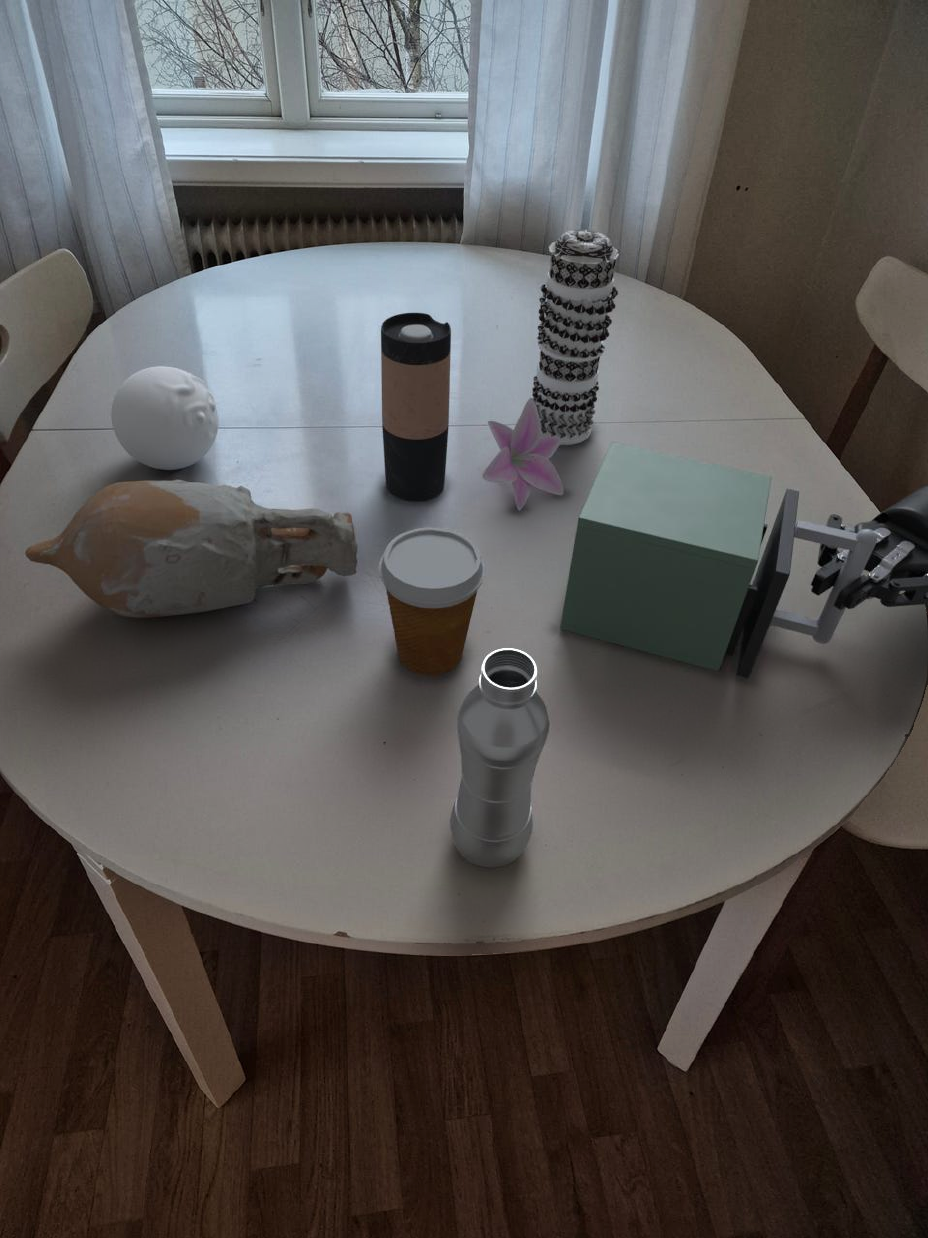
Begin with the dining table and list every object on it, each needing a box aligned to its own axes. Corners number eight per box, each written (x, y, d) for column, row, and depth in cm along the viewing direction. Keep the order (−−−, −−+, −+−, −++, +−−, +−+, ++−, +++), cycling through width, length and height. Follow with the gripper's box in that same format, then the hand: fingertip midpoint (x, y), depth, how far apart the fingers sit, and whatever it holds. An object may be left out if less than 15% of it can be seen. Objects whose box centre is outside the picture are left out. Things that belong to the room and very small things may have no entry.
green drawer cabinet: (734, 584, 94) (771, 476, 84) (718, 671, 84) (758, 560, 74) (591, 549, 97) (611, 441, 87) (559, 629, 87) (578, 517, 78)
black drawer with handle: (827, 608, 91) (880, 492, 81) (822, 698, 82) (880, 579, 72) (624, 558, 96) (649, 442, 86) (596, 637, 87) (621, 517, 76)
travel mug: (384, 503, 102) (380, 343, 88) (383, 467, 107) (379, 311, 93) (448, 502, 102) (454, 343, 89) (444, 466, 108) (449, 311, 94)
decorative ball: (198, 496, 101) (180, 405, 93) (105, 480, 103) (78, 388, 94) (241, 444, 109) (227, 356, 101) (154, 429, 111) (133, 342, 103)
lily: (462, 518, 102) (500, 474, 94) (450, 436, 106) (485, 388, 99) (549, 530, 107) (591, 489, 99) (534, 451, 112) (573, 406, 104)
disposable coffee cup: (388, 694, 80) (386, 597, 72) (375, 624, 87) (372, 528, 78) (488, 682, 81) (497, 586, 73) (468, 614, 88) (474, 519, 80)
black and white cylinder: (592, 450, 112) (625, 255, 95) (521, 441, 113) (542, 246, 96) (596, 416, 119) (628, 227, 102) (530, 407, 120) (550, 219, 103)
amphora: (11, 472, 81) (323, 404, 82) (89, 574, 94) (357, 514, 95) (-5, 586, 73) (339, 509, 74) (82, 680, 86) (374, 614, 87)
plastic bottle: (439, 868, 67) (447, 696, 53) (460, 797, 72) (472, 624, 58) (520, 887, 66) (550, 718, 52) (536, 815, 71) (566, 642, 57)
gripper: (880, 465, 89) (778, 524, 80) (1010, 532, 81) (912, 604, 73) (854, 523, 94) (756, 584, 86) (974, 592, 86) (879, 665, 78)
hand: (828, 593), depth 79 cm, fingers closed on black drawer with handle, 2 cm apart
